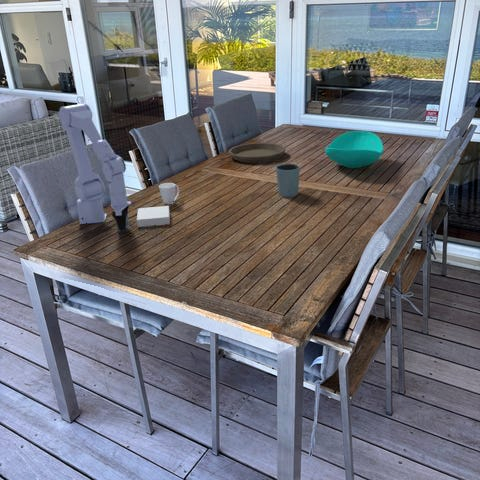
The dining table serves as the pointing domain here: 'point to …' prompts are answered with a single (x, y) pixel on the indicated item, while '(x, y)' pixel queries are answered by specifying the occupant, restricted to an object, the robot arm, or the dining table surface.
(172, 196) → the cup
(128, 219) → the grey cylinder
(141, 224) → the base block
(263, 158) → the plant saucer
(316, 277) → the dining table surface
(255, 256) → the dining table surface
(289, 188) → the drinking glass
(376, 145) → the table top decor
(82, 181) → the robot arm
